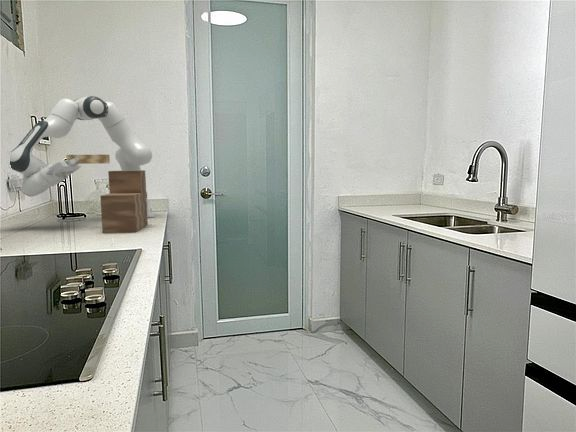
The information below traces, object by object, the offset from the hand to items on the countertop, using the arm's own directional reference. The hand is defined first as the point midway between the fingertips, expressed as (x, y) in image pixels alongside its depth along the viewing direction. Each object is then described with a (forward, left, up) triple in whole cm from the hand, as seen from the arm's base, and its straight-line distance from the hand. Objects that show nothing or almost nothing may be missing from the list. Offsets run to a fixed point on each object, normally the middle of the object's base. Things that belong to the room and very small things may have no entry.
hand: (80, 158), depth 215 cm
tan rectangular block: (0, +3, -2) cm, 4 cm away
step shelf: (+6, +20, -32) cm, 38 cm away
